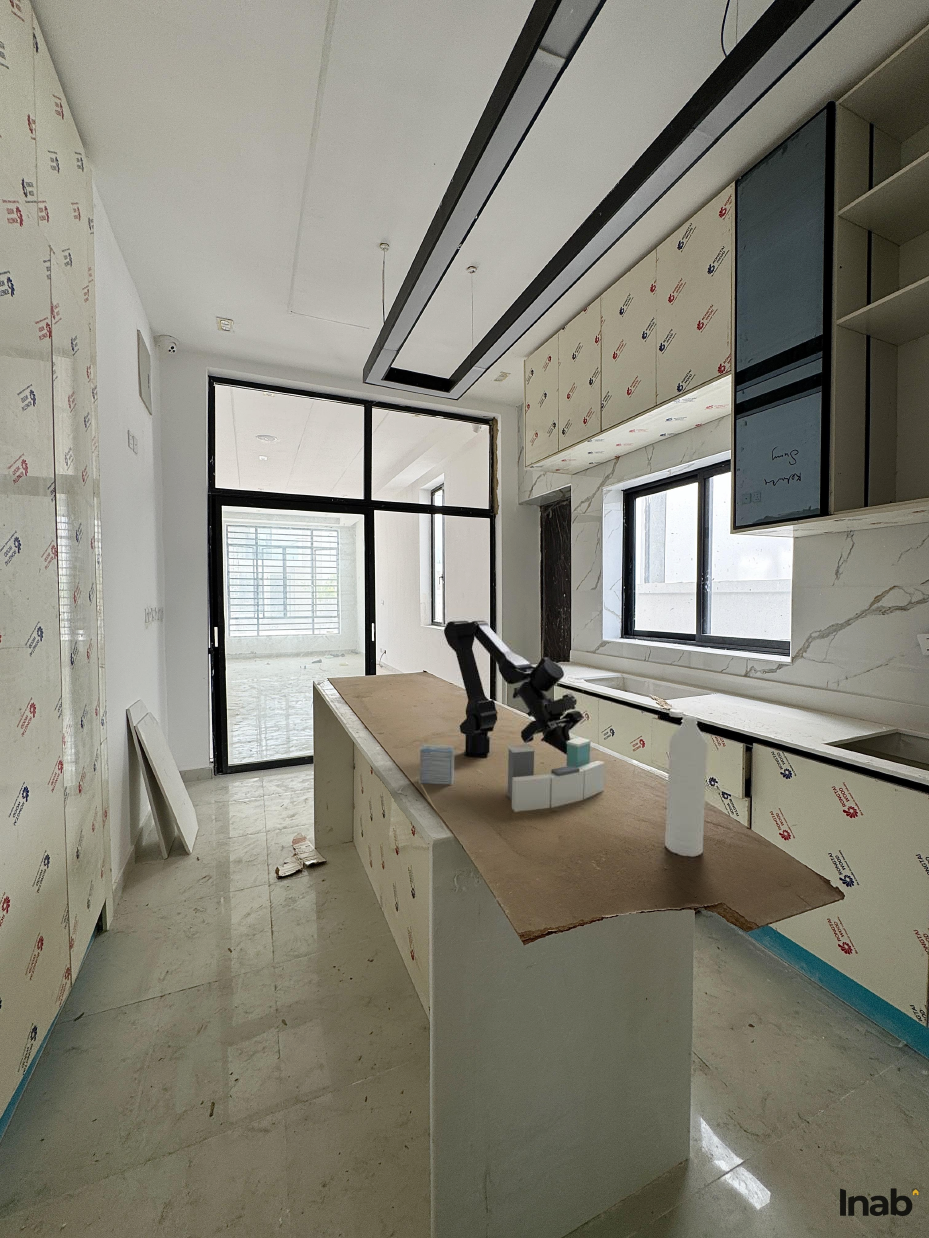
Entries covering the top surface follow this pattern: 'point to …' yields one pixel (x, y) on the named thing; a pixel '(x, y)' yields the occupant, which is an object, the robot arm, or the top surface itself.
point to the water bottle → (686, 788)
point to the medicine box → (437, 764)
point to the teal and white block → (578, 752)
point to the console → (557, 787)
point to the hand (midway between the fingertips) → (572, 755)
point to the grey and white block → (519, 763)
